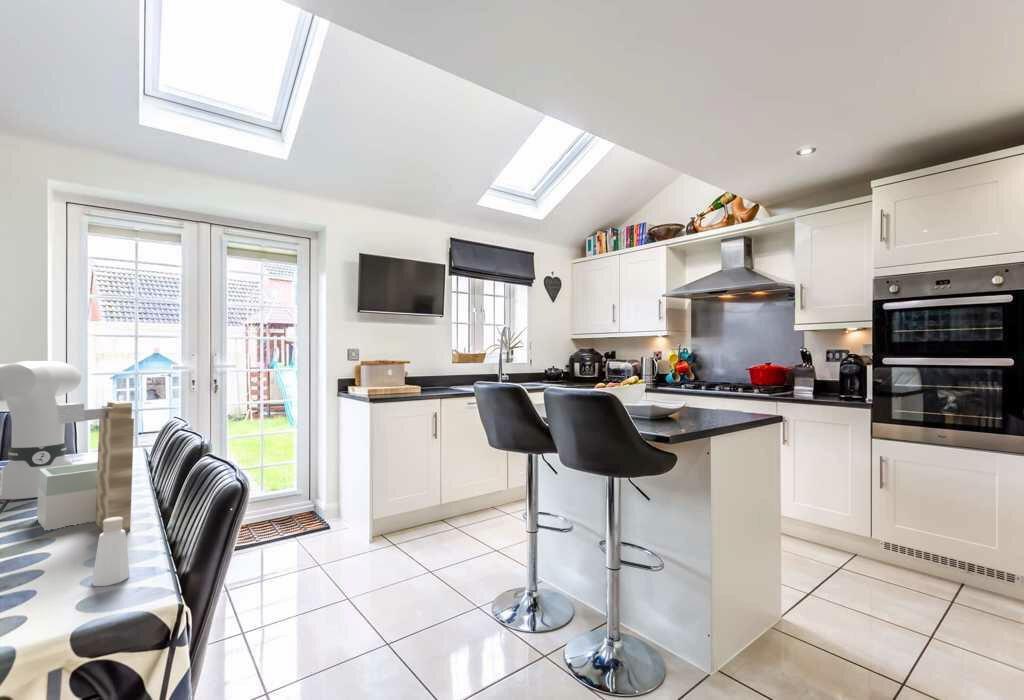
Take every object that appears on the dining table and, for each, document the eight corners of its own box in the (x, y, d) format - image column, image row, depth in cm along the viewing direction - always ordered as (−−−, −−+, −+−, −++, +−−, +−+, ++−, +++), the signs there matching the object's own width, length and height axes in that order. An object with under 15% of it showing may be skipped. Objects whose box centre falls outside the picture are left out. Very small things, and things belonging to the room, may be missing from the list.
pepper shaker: (85, 589, 81) (87, 525, 82) (98, 576, 86) (100, 515, 87) (124, 583, 84) (126, 521, 84) (134, 571, 89) (136, 512, 89)
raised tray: (36, 519, 116) (38, 468, 116) (117, 505, 128) (118, 459, 128) (45, 531, 108) (47, 476, 109) (129, 514, 120) (131, 465, 121)
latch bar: (57, 422, 106) (56, 404, 106) (119, 415, 114) (118, 399, 114) (60, 423, 103) (59, 405, 103) (123, 416, 112) (123, 400, 112)
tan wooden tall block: (95, 523, 114) (99, 401, 114) (116, 519, 117) (120, 400, 118) (108, 535, 106) (112, 404, 107) (130, 530, 109) (134, 403, 110)
